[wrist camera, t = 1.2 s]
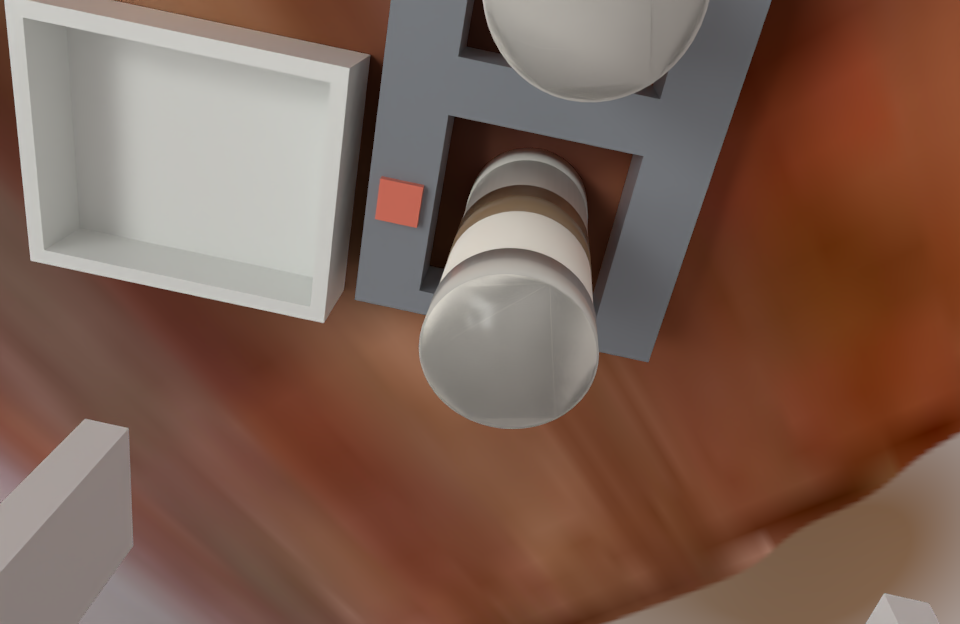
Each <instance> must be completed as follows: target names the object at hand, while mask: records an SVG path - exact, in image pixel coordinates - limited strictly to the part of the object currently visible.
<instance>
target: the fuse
mask: <svg viewBox="0 0 960 624" xmlns="http://www.w3.org/2000/svg"><path fill="white" fill-rule="evenodd" d="M708 3H709V0H483V7H484V12H485V16H486V20H487V24H488V27H489V30H490V32H491V35H492V37H493V40H494V42H495V43H496V45H497V47H498V49H499V51H500V53H501V54H502V55H503V57H504V58H505V59H506V61H507V62H508V64H509V65H510V66H511V67H512V68H513V69H514V70H515V71H516V72H517V73H518V74H519V75H520V76H521V77H522V78H524V79H525V80H526V81H527V82H529V83H530V84H531V85H533V86H535V87H536V88H538V89H540V90H541V91H543V92H546V93H548V94H550V95H553V96H555V97H558V98H562V99H565V100H570V101H577V102H603V101H611V100H615V99H619V98H622V97H626V96H628V95H631V94H633V93H636V92H638V91H640V90H642V89H644V88H645V87H647V86H649V85H651V84H652V83H654V82H655V81H656V80H658V79H659V78H661V77H662V76H663V75H664V74H666V73H667V72H668V71H669V70H670V69H671V68H672V67H673V66H674V65H675V64H676V63H677V62H678V61H679V59H680V58H681V57H682V56H683V55H684V54H685V52H686V51H687V49H688V48H689V46H690V45H691V43H692V42H693V40H694V38H695V36H696V35H697V33H698V31H699V29H700V27H701V25H702V22H703V19H704V16H705V14H706V11H707V7H708Z"/></svg>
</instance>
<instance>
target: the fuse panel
mask: <svg viewBox="0 0 960 624" xmlns="http://www.w3.org/2000/svg"><path fill="white" fill-rule="evenodd" d="M770 3H771V0H709V3H708V7H707V11H706V14H705V16H704V19H703V22H702V25H701V27H700V29H699V31H698V33H697V35H696V36H695V38H694V40H693V42H692V43H691V45H690V46H689V48H688V49H687V51H686V52H685V54H684V55H683V56H682V57H681V58H680V59H679V61H678V62H677V63H676V64H675V65H674V66H673V67H672V68H671V69H670V70H669V71H668V72H667V73H666V74H664V75H663V76H662V77H661V78H659V79H658V80H656V81H655V82H654V83H653V86H651V85H649V86H647V87H645V88H644V89H642V90H640V91H638V92H636V93H633V94H631V95H628V96H626V97H622V98H619V99H615V100H611V101H603V102H577V101H570V100H565V99H562V98H558V97H555V96H553V95H550V94H548V93H546V92H543V91H541V90H540V89H538V88H536V87H535V86H533V85H531V84H530V83H529V82H527V81H526V80H525V79H524V78H522V77H521V76H520V75H519V74H518V73H517V72H516V71H515V70H514V69H513V68H512V67H511V66H510V65H509V64H508V62H507V61H506V59H505V58H504V57H503V55H502V54H500V53H495V52H490V51H485V50H481V49H476V48H471V47H467V41H468V35H469V29H470V23H471V18H472V12H473V6H474V0H391V4H390V12H389V21H388V29H387V37H386V45H385V54H384V62H383V70H382V78H381V87H380V95H379V103H378V111H377V120H376V128H375V136H374V144H373V153H372V161H371V169H370V177H369V186H368V194H367V202H366V210H365V219H364V227H363V235H362V243H361V252H360V260H359V268H358V276H357V285H356V293H355V300H358V301H363V302H367V303H372V304H377V305H381V306H386V307H391V308H396V309H400V310H405V311H410V312H414V313H419V314H424V315H426V314H427V311H428V309H429V306H430V303H431V300H432V298H433V295H434V293H435V291H436V289H437V287H438V285H439V283H440V280H441V278H442V275H443V272H444V269H443V268H438V267H433V266H430V260H431V254H432V248H433V242H434V236H435V230H436V224H437V218H438V213H439V207H440V201H441V195H442V189H443V183H444V177H445V171H446V165H447V159H448V153H449V148H450V142H451V136H452V130H453V124H454V118H455V116H456V117H460V118H465V119H470V120H474V121H479V122H484V123H489V124H493V125H498V126H503V127H508V128H512V129H517V130H522V131H526V132H531V133H536V134H541V135H545V136H550V137H555V138H560V139H564V140H569V141H574V142H578V143H583V144H588V145H593V146H597V147H602V148H607V149H612V150H616V151H621V152H626V153H630V154H633V156H632V160H631V163H630V167H629V170H628V174H627V177H626V181H625V184H624V188H623V191H622V195H621V198H620V202H619V205H618V209H617V212H616V216H615V219H614V223H613V226H612V230H611V233H610V237H609V240H608V244H607V247H606V251H605V254H604V258H603V261H602V265H601V268H600V272H599V275H598V279H597V282H596V286H595V289H594V293H593V305H594V309H595V313H596V323H597V335H598V348H599V352H602V353H607V354H612V355H616V356H621V357H626V358H631V359H635V360H640V361H645V362H649V359H650V356H651V353H652V350H653V347H654V344H655V341H656V338H657V335H658V332H659V330H660V327H661V324H662V321H663V318H664V315H665V312H666V309H667V306H668V303H669V300H670V297H671V294H672V291H673V288H674V285H675V283H676V280H677V277H678V274H679V271H680V268H681V265H682V262H683V259H684V256H685V253H686V250H687V247H688V244H689V241H690V238H691V235H692V233H693V230H694V227H695V224H696V221H697V218H698V215H699V212H700V209H701V206H702V203H703V200H704V197H705V194H706V191H707V188H708V186H709V183H710V180H711V177H712V174H713V171H714V168H715V165H716V162H717V159H718V156H719V153H720V150H721V147H722V144H723V141H724V138H725V136H726V133H727V130H728V127H729V124H730V121H731V118H732V115H733V112H734V109H735V106H736V103H737V100H738V97H739V94H740V91H741V88H742V86H743V83H744V80H745V77H746V74H747V71H748V68H749V65H750V62H751V59H752V56H753V53H754V50H755V47H756V44H757V41H758V39H759V36H760V33H761V30H762V27H763V24H764V21H765V18H766V15H767V12H768V9H769V6H770Z"/></svg>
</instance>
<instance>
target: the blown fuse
mask: <svg viewBox="0 0 960 624" xmlns="http://www.w3.org/2000/svg"><path fill="white" fill-rule="evenodd" d="M587 225H588V209H587V197H586V192H585V188H584V185H583V182H582V180H581V178H580V177H579V175H578V173H577V172H576V171H575V169H574V168H573V167H572V166H571V165H570V164H569V163H568V162H567V161H565V160H564V159H563V158H561V157H560V156H558V155H556V154H554V153H552V152H550V151H547V150H543V149H538V148H517V149H513V150H509V151H507V152H504V153H502V154H500V155H498V156H497V157H495V158H494V159H492V160H491V161H490V162H488V163H487V164H486V165H485V166H484V167H483V169H482V170H481V171H480V173H479V174H478V176H477V178H476V179H475V182H474V184H473V187H472V189H471V192H470V195H469V198H468V201H467V205H466V210H465V213H464V216H463V218H462V221H461V223H460V226H459V228H458V231H457V234H456V236H455V239H454V242H453V245H452V248H451V250H450V253H449V256H448V260H447V263H446V266H445V269H444V272H443V275H442V278H441V280H440V283H439V285H438V287H437V289H436V291H435V293H434V295H433V298H432V300H431V303H430V306H429V309H428V311H427V314H426V317H425V320H424V323H423V325H422V329H421V333H420V339H419V357H420V362H421V366H422V369H423V372H424V375H425V377H426V379H427V381H428V383H429V385H430V386H431V388H432V389H433V391H434V392H435V393H436V395H437V396H438V397H439V398H440V399H441V400H442V401H443V402H444V403H445V404H446V405H447V406H449V407H450V408H451V409H452V410H454V411H455V412H457V413H458V414H460V415H462V416H464V417H465V418H467V419H469V420H472V421H474V422H477V423H479V424H483V425H486V426H490V427H496V428H504V429H521V428H529V427H535V426H538V425H542V424H545V423H548V422H550V421H552V420H555V419H557V418H559V417H560V416H562V415H564V414H565V413H567V412H568V411H569V410H571V409H572V408H573V407H574V406H575V405H576V404H577V403H578V402H579V401H581V399H582V398H583V397H584V395H585V394H586V393H587V391H588V390H589V388H590V386H591V384H592V382H593V380H594V377H595V375H596V371H597V367H598V359H599V348H598V335H597V323H596V313H595V309H594V305H593V294H592V272H591V259H590V246H589V237H588V227H587Z"/></svg>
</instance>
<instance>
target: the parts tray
mask: <svg viewBox="0 0 960 624" xmlns="http://www.w3.org/2000/svg"><path fill="white" fill-rule="evenodd" d="M4 3H5V13H6V23H7V32H8V42H9V52H10V62H11V72H12V82H13V92H14V102H15V111H16V121H17V131H18V141H19V151H20V161H21V171H22V181H23V190H24V200H25V210H26V220H27V230H28V240H29V250H30V260H31V261H35V262H39V263H44V264H49V265H53V266H58V267H63V268H68V269H72V270H77V271H82V272H86V273H91V274H96V275H100V276H105V277H110V278H114V279H119V280H124V281H129V282H133V283H138V284H143V285H147V286H152V287H157V288H161V289H166V290H171V291H176V292H180V293H185V294H190V295H194V296H199V297H204V298H208V299H213V300H218V301H222V302H227V303H232V304H237V305H241V306H246V307H251V308H255V309H260V310H265V311H269V312H274V313H279V314H284V315H288V316H293V317H298V318H302V319H307V320H312V321H316V322H321V323H324V322H325V320H326V319H327V317H328V315H329V314H330V312H331V311H332V309H333V307H334V306H335V304H336V302H337V301H338V299H339V297H340V296H341V294H342V293H343V291H344V285H345V277H346V268H347V259H348V250H349V241H350V232H351V224H352V215H353V206H354V197H355V188H356V179H357V170H358V162H359V153H360V144H361V135H362V126H363V117H364V109H365V100H366V91H367V82H368V73H369V64H370V55H369V54H365V53H360V52H355V51H350V50H346V49H341V48H336V47H332V46H327V45H322V44H317V43H313V42H308V41H303V40H298V39H294V38H289V37H284V36H279V35H275V34H270V33H265V32H261V31H256V30H251V29H246V28H242V27H237V26H232V25H227V24H223V23H218V22H213V21H208V20H204V19H199V18H194V17H189V16H185V15H180V14H175V13H171V12H166V11H161V10H156V9H152V8H147V7H142V6H137V5H133V4H128V3H123V2H118V1H114V0H4Z"/></svg>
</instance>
